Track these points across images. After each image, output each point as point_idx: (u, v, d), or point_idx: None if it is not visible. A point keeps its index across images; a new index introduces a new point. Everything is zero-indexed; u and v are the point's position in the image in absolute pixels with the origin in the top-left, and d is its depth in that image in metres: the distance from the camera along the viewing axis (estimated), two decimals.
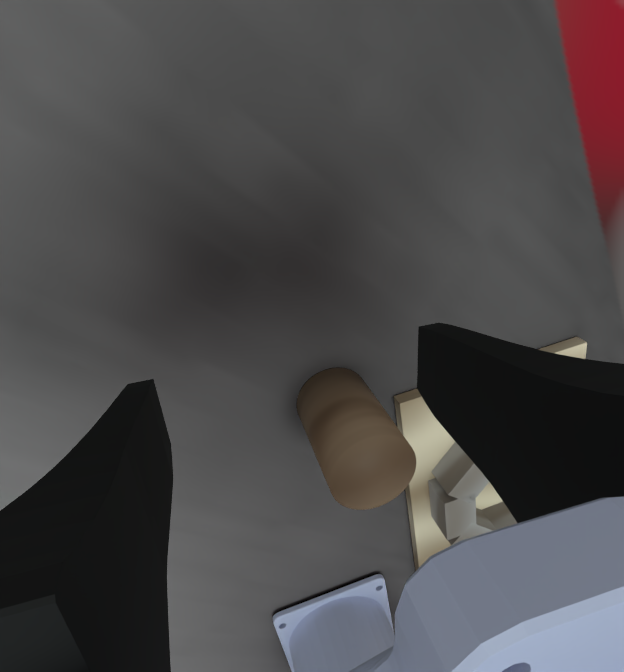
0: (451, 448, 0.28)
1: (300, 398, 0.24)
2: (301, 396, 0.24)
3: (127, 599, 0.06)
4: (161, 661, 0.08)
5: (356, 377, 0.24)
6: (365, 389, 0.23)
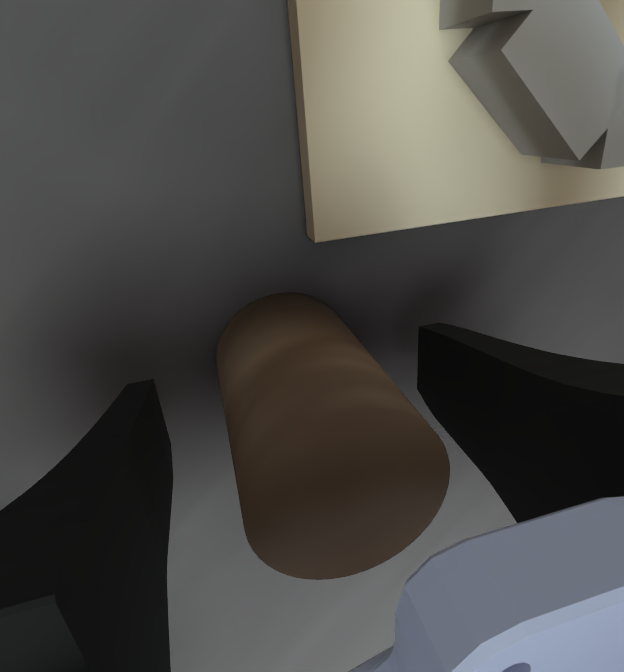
0: (480, 101, 0.11)
1: None
2: None
3: (127, 599, 0.06)
4: (160, 661, 0.08)
5: (230, 336, 0.12)
6: (237, 354, 0.11)
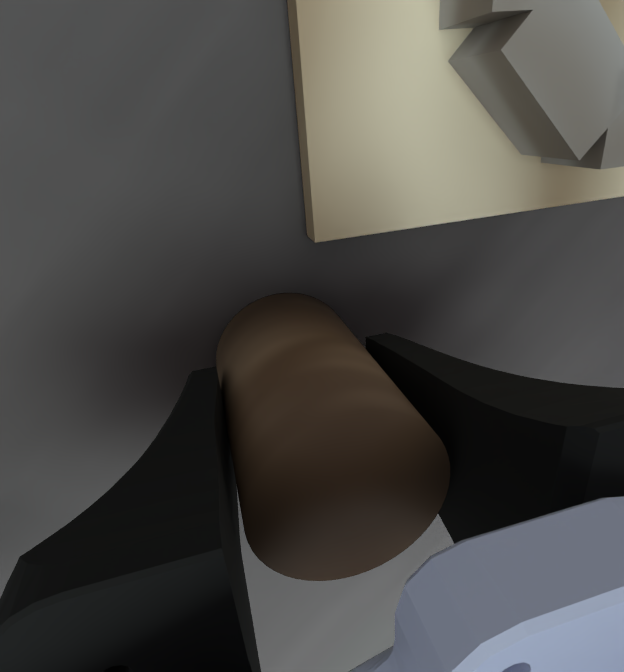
0: (480, 101, 0.11)
1: None
2: None
3: (236, 568, 0.07)
4: (252, 632, 0.08)
5: (230, 336, 0.12)
6: (237, 354, 0.11)
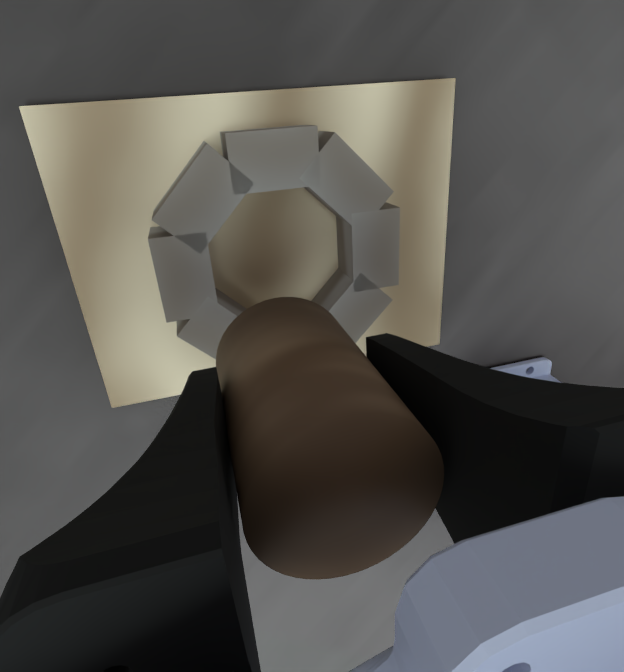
0: None
1: None
2: None
3: (236, 568, 0.07)
4: (252, 631, 0.08)
5: (234, 333, 0.12)
6: (241, 351, 0.11)
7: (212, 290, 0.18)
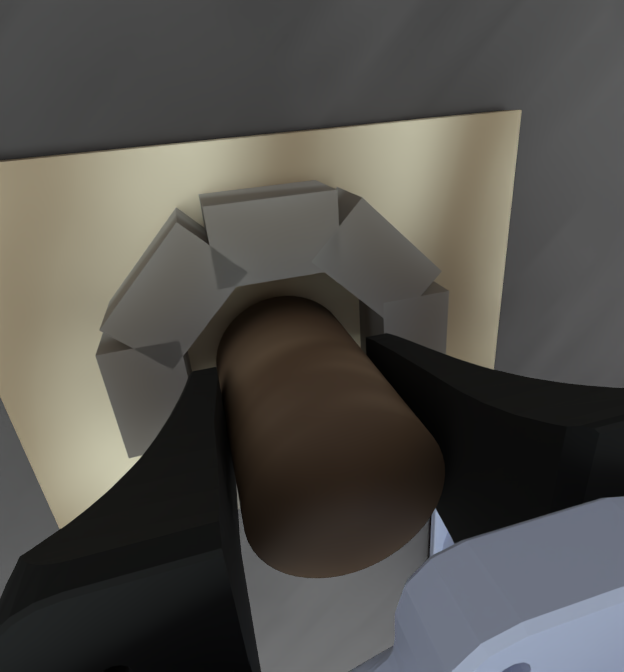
0: None
1: None
2: None
3: (236, 568, 0.07)
4: (252, 632, 0.08)
5: (235, 332, 0.12)
6: (242, 350, 0.11)
7: None
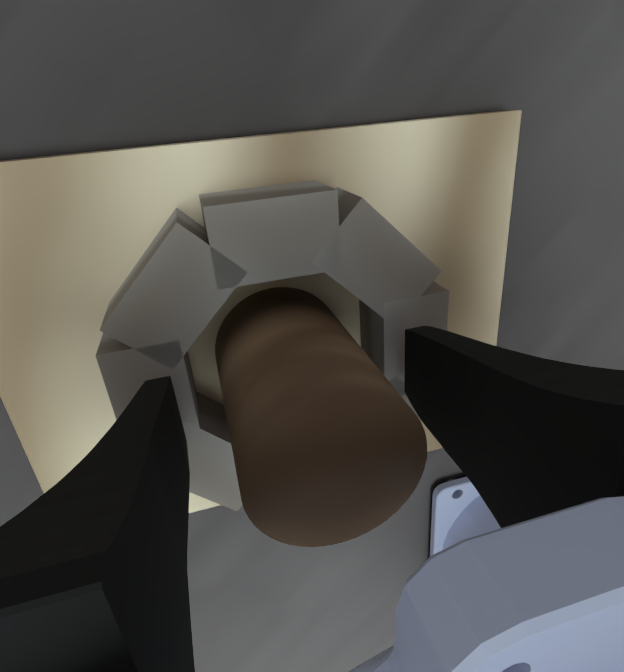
0: None
1: None
2: None
3: (157, 590, 0.07)
4: (185, 653, 0.08)
5: (233, 321, 0.13)
6: (239, 337, 0.12)
7: (191, 413, 0.13)
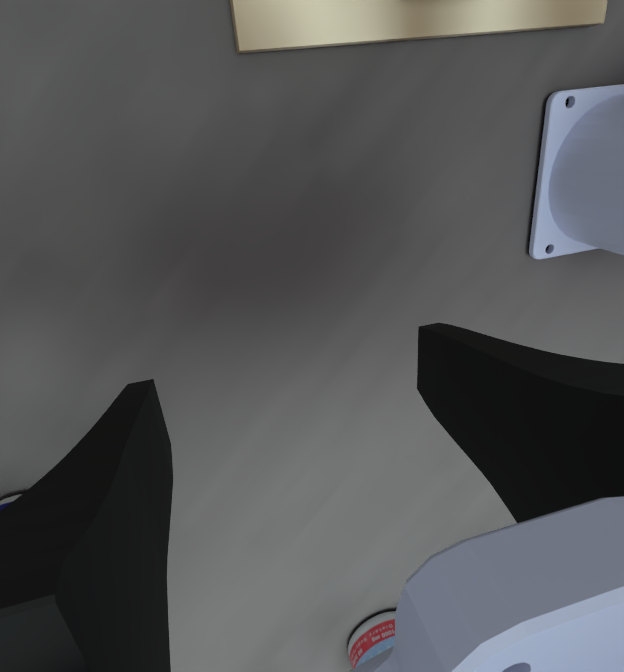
0: None
1: None
2: None
3: (127, 599, 0.06)
4: (160, 661, 0.08)
5: None
6: None
7: None
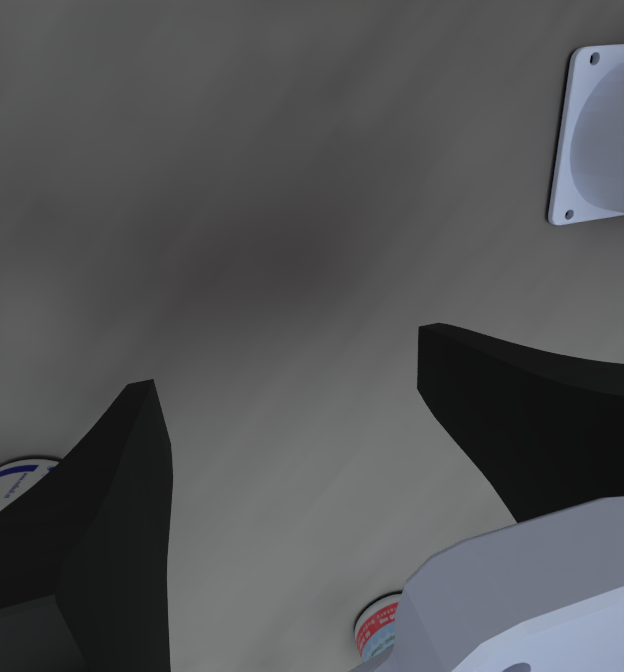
0: None
1: None
2: None
3: (127, 599, 0.06)
4: (160, 661, 0.08)
5: None
6: None
7: None
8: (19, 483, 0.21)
